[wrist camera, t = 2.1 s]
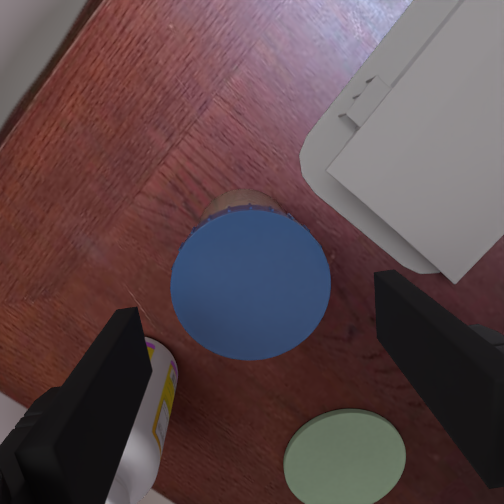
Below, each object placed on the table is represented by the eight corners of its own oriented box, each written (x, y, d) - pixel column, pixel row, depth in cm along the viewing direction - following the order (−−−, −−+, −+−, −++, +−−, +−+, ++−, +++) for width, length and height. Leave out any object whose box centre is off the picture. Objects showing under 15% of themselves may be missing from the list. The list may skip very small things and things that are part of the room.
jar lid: (189, 354, 19) (185, 372, 18) (160, 215, 17) (153, 222, 16) (329, 333, 20) (337, 349, 18) (317, 192, 17) (325, 197, 16)
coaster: (290, 514, 35) (290, 520, 34) (276, 418, 32) (277, 423, 31) (404, 496, 35) (407, 502, 35) (401, 399, 32) (404, 404, 31)
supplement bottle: (78, 364, 29) (-33, 521, 17) (140, 316, 29) (71, 445, 16) (136, 417, 31) (73, 596, 19) (196, 373, 30) (173, 530, 18)
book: (282, 166, 26) (291, 169, 22) (530, -148, 22) (592, -210, 18) (430, 288, 29) (460, 310, 26) (671, 36, 25) (749, 16, 21)
